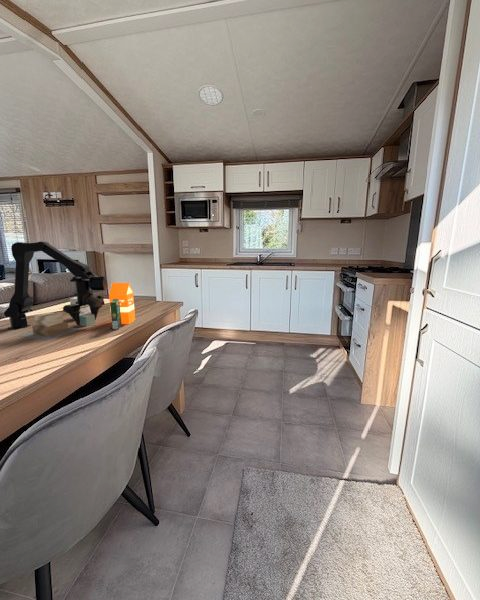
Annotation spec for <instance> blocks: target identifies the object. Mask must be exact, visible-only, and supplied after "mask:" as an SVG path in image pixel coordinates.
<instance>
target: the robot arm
mask: <svg viewBox="0 0 480 600" xmlns="http://www.w3.org/2000/svg"><path fill="white" fill-rule="evenodd" d="M37 252H43V253H44V254H45V255H48V256H49V257H51V258H52V259H54V260H55V261H57V262H58V263H60V264H61V265H63V266H64V267H65V268H66V269H67V271H68V272H69V273H71V275H73V276H72V278H70V280H69V282H70V283H72V282H73V283H74V284H75V291H76V293H74V297H77V301H78V302H76V304H78V305H75V304H66V305H63V307H62V311H63V312H64V313H66V314H68V315H69V316H70V317H71V318H72V320H73V319H74V323H75V324H76V325H77V326H81V325H80V317H79V314H80V312H81V311H79V310H80V308H84V307H88V306H89V307H90V310H91V314H94V315H95V321H96V319H97V316H98V313H99V310H100V309H101V308H103V306H105V300H104V296H103V295H101V294H100V295H96V296H94V293H93V292H94V291H96V292H97V291H107V290H108V281H107V279H106V276H105V275H102V276H96V275H95V274H94V273H93V272H92V271H91V270H90V267H89V266H88V265H87V264H86V263H83V262H81V261H78V260H75V259H73V258H71V257H70V256H68V255H67V254H65V253H64V252H62V251H61V250H59V249H58V248H57V247H54V246H53V245H51V244H50V243H49V242H47V241H37V242H24V241H21V242H20V241H18V242H14V243H13V244H11V256H12V257H13V259H14V262H15V274H14V292H13V294H12V296H11V297H10V301H9V304H8V307H7V308H6V309H5V311H3V315H4V317H5V318H9V323H10V326H9V327H7V328H6V329H8V330H20V329H24V328H27V327H32V325H31V324H28V320H27V313H29V311H30V309H31V308H32V306H33V305H34V297H33V296H30V294H29V277H30V262H31V261H32V260H33V257H34V254H35V253H37ZM91 290H92V291H93V292H91ZM83 305H84V306H83Z"/></svg>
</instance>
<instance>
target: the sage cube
mask: <svg viewBox="0 0 480 600" xmlns="http://www.w3.org/2000/svg"><path fill="white" fill-rule="evenodd" d="M79 317H80V325H79V326H82V327H88V326H91V325H95V324H96V320H95V315H94V314H84V315H80V316H79Z"/></svg>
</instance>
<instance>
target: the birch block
mask: <svg viewBox="0 0 480 600" xmlns="http://www.w3.org/2000/svg"><path fill="white" fill-rule="evenodd" d="M34 319H35V325H39V326H48V327H49V326H52V325H56V324H59V323H63V322H65V321H64V315H63V313H62V312H51V311H50V312H47V313H43V314H42V313H41V314H39V315H35V316H34Z"/></svg>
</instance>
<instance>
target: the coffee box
mask: <svg viewBox="0 0 480 600" xmlns="http://www.w3.org/2000/svg"><path fill="white" fill-rule="evenodd" d="M109 308H111V312H110V319H111V320H112V321H111V329H112V331H117V330H118V331H119V329H120V328H121V326H122V325H123V324H122V323H121V313H120V301H119V299H113V300H112V301H111V302H110V301H109Z"/></svg>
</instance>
